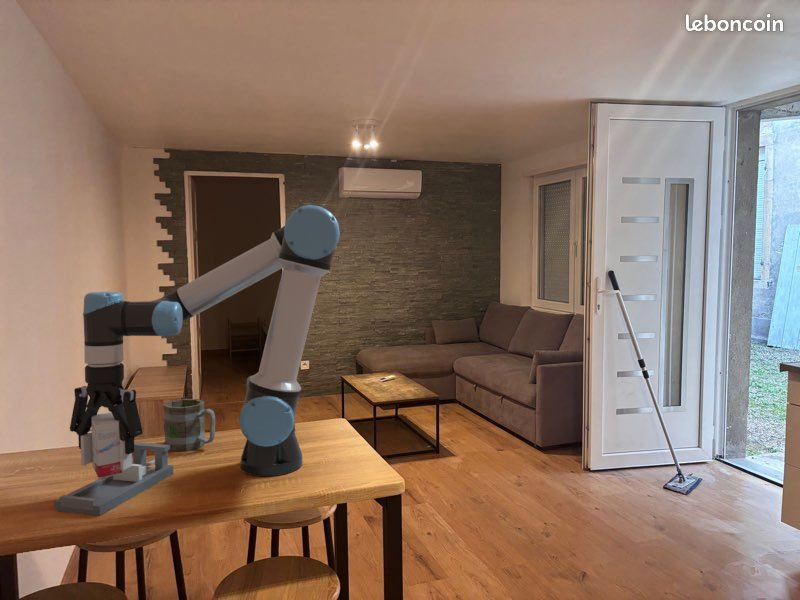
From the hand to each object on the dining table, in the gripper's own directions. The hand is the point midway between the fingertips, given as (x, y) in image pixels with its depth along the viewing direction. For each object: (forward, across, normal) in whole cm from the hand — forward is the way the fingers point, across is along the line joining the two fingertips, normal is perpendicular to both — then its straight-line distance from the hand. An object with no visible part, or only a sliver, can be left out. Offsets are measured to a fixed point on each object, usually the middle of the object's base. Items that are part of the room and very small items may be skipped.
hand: (106, 465), depth 127 cm
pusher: (+5, 0, -12) cm, 13 cm away
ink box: (+1, 0, 0) cm, 1 cm away
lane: (+7, 0, -3) cm, 7 cm away
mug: (+7, +2, -34) cm, 35 cm away
